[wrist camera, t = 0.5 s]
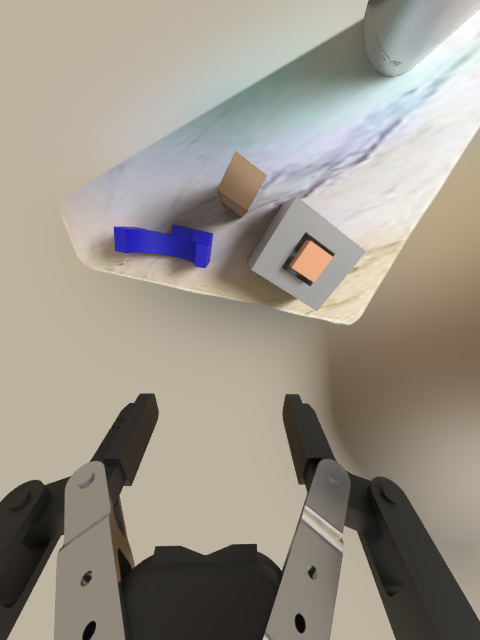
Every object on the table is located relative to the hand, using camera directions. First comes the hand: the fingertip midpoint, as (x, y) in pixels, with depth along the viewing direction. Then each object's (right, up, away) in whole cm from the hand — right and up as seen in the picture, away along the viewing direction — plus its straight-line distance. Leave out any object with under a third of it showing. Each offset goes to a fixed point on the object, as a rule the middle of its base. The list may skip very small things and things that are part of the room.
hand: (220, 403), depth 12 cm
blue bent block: (-9, +18, +19) cm, 28 cm away
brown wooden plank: (+1, +23, +17) cm, 29 cm away
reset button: (+10, +14, +16) cm, 23 cm away
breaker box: (+10, +16, +20) cm, 28 cm away
